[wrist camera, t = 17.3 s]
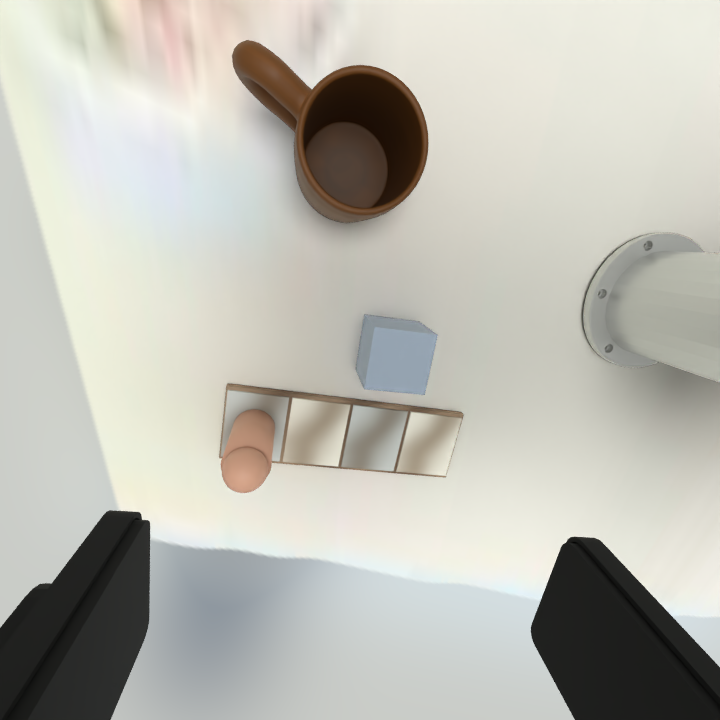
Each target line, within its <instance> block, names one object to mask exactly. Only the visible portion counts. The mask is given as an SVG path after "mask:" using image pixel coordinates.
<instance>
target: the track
mask: <svg viewBox="0 0 720 720" xmlns="http://www.w3.org/2000/svg"><path fill="white" fill-rule="evenodd" d="M251 409H258V410H262V411H264V412H266V413H268V414H269V415H270V416H271V417H272V419H273V421H274V423H275V434H274V444H273V454H272V463H283V464H294V465H306V466H318V467H329V468H341V469H353V470H364V471H376V472H388V473H399V474H411V475H423V476H434V477H446V474H447V471H448V467H449V464H450V460H451V457H452V453H453V450H454V447H455V443H456V440H457V436H458V433H459V429H460V426H461V422H462V419H463V414H462V412H456V411H448V410H439V409H431V408H423V407H415V406H407V405H398V404H390V403H382V402H374V401H366V400H358V399H349V398H341V397H333V396H325V395H317V394H309V393H300V392H292V391H284V390H276V389H268V388H260V387H251V386H243V385H235V384H227V386H226V396H225V405H224V415H223V425H222V434H221V444H220V454H219V458H222V457H223V454H224V451H225V448H226V445H227V442H228V439H229V436H230V433H231V430H232V427H233V424H234V421H235V419H236V418H237V416H238V415H240V414H241V413H242V412H244V411H247V410H251Z"/></svg>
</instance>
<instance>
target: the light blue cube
mask: <svg viewBox="0 0 720 720" xmlns="http://www.w3.org/2000/svg"><path fill="white" fill-rule="evenodd" d="M437 336H438V335H437V334H436V333H434V332H433V331H432V330H430V329H429V328H427V327H426V326H425V325H423V324H422V323H420V322H418V321H410V320H403V319H395V318H387V317H380V316H372V315H364V320H363V326H362V333H361V339H360V345H359V351H358V357H357V364H356V371H357V373H358V376H359V378H360V380H361V383H362V385H363V388H364V389H368V390H379V391H389V392H400V393H411V394H422V395H425V391H426V386H427V382H428V377H429V372H430V368H431V363H432V359H433V354H434V349H435V345H436V340H437Z"/></svg>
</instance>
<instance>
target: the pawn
mask: <svg viewBox="0 0 720 720" xmlns="http://www.w3.org/2000/svg"><path fill="white" fill-rule="evenodd" d="M274 434H275V423H274V421H273V419H272V417H271V416H270V415H269V414H268V413H266V412H264V411H262V410H258V409H251V410H247V411H244V412H242V413H241V414H240V415H238V416H237V418H236V419H235V421H234V424H233V427H232V430H231V433H230V436H229V439H228V442H227V445H226V448H225V451H224V454H223V457H222V460H221V470H222V476H223V480H224V482H225V484H226V485H227V486H228V487H229V488H230V489H232V490H233V491H236V492H239V493H247V492H251V491H254V490H255V489H257V488H258V487H260V486H261V485H262V483H263V482H264V481H265V479H266V477H267V476H268V474H269V472H270V470H271V463H272V454H273V444H274Z"/></svg>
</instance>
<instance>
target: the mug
mask: <svg viewBox="0 0 720 720" xmlns="http://www.w3.org/2000/svg"><path fill="white" fill-rule="evenodd" d="M232 59H233V67H234V69H235V72H236V74H237V76H238V77H239V79H240V80H241V81H242V83H243V84H244V85H245V86H246V88H247V89H248V90H249V91H250V92H251V93H252V94H253V95H254V96H255V97H256V98H257V99H258V100H259V101H260V102H261V103H262V104H263V105H264V106H265V107H267V108H268V109H269V110H270V111H271V112H272V113H274V114H275V115H276V116H277V117H279V118H280V119H281V120H282V121H283V122H284V123H286V124H287V125H288V126H289V127H290V128H291V129H292V130H293V131H294V132H295V138H294V157H295V167H296V174H297V179H298V183H299V186H300V188H301V191H302V193H303V195H304V196H305V198H306V200H307V201H308V202H309V204H310V205H311V206H312V207H313V208H314V209H315V210H316V211H317V212H319V213H320V214H322V215H323V216H325V217H327V218H329V219H331V220H334V221H338V222H347V223H350V222H358V221H363V220H367V219H371V218H374V217H378V216H380V215H383V214H385V213H387V212H388V211H390V210H392V209H393V208H394V207H396V206H397V205H398V204H400V203H401V202H402V201H403V200H405V199H406V198H407V197H408V196H409V195H410V193H411V192H412V191H413V189H414V188H415V187H416V185H417V183H418V182H419V180H420V178H421V175H422V173H423V171H424V167H425V164H426V160H427V154H428V131H427V125H426V121H425V117H424V114H423V112H422V109H421V107H420V105H419V103H418V101H417V99H416V98H415V96H414V95H413V93H412V92H411V91H410V89H409V88H408V87H407V86H406V85H405V84H404V83H403V82H402V81H401V80H399V79H398V78H397V77H396V76H394V75H392V74H391V73H389V72H387V71H385V70H382V69H380V68H376V67H372V66H365V65H356V66H349V67H344V68H341V69H339V70H336V71H334V72H332V73H331V74H329V75H327V76H326V77H325V78H323V79H322V80H321V81H320V82H319V83H318V84H317V85H316V86H315V87H314V88H313V89H310V88H309V87H308V86H307V85H306V84H305V83H304V82H303V81H302V80H301V79H300V78H299V77H298V76H297V75H296V74H295V73H294V72H293V71H292V70H291V69H290V68H289V67H288V66H287V65H286V64H285V63H284V62H283V61H282V60H281V59H280V58H279V57H278V56H276V55H275V54H274V53H273V52H271V51H270V50H269V49H267V48H266V47H264V46H263V45H261V44H259V43H257V42H254V41H249V40H246V41H244V42H241V43H240V44H238V45H237V46H236V47H235V49H234V51H233V55H232Z"/></svg>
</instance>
